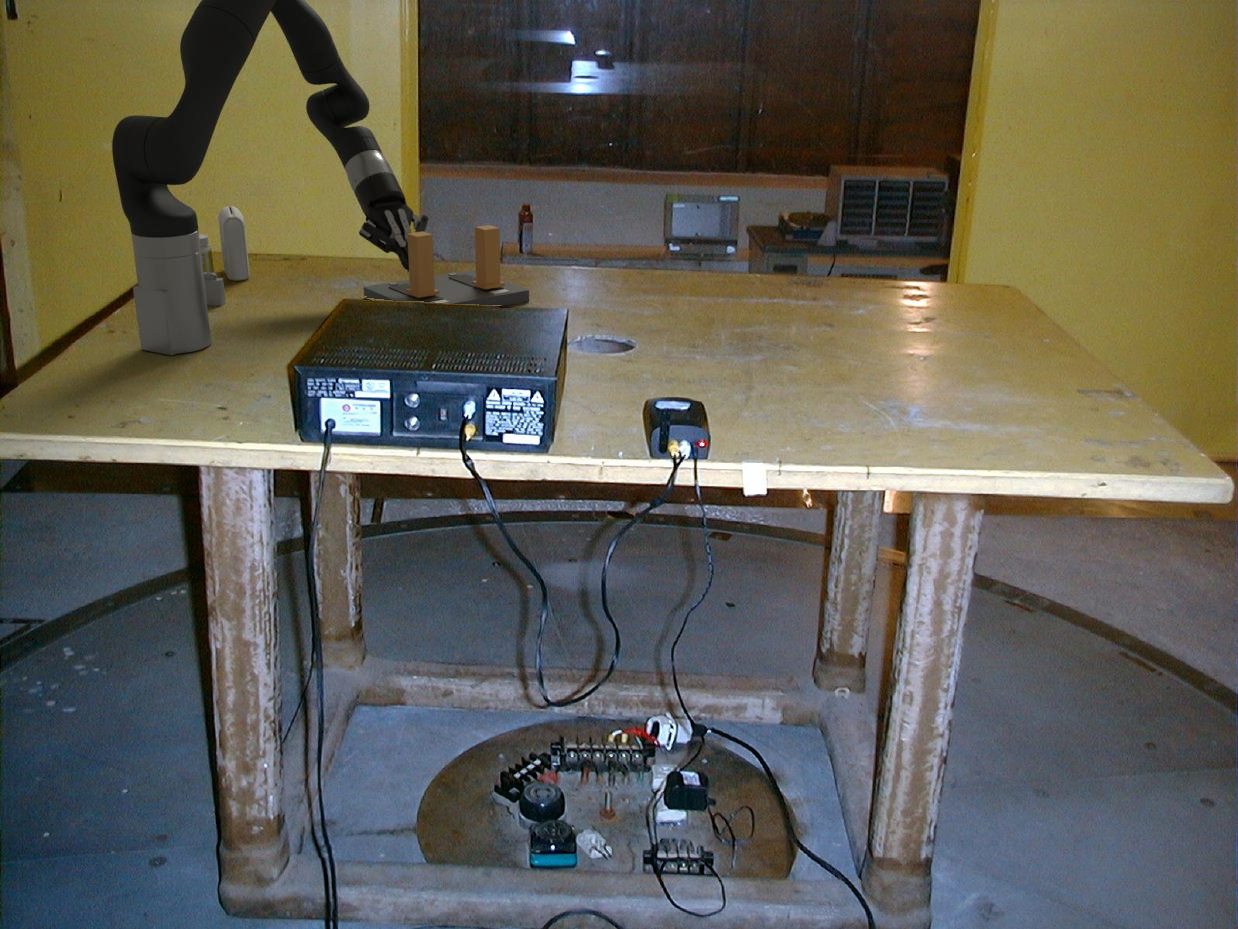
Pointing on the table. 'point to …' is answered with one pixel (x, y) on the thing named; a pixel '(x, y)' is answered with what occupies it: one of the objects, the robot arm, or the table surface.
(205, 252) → the supplement bottle
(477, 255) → the brown tall rectangular block
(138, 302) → the robot arm
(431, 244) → the tab left
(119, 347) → the table surface
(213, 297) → the lighter
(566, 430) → the table surface
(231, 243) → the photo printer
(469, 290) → the base plate
